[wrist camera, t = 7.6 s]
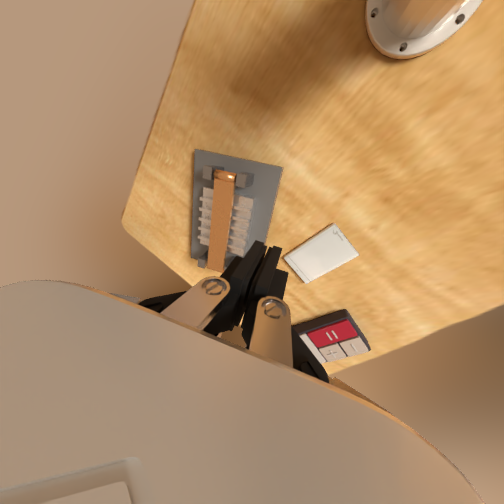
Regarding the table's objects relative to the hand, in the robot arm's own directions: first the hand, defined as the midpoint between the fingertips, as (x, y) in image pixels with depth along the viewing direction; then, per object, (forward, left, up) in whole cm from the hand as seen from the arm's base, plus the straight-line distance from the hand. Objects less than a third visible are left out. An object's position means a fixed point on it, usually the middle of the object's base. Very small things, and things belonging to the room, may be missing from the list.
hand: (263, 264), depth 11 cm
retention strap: (+7, -12, -22) cm, 26 cm away
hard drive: (+10, +8, -29) cm, 32 cm away
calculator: (+31, +18, -29) cm, 45 cm away
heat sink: (+7, -12, -26) cm, 29 cm away
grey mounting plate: (+7, -12, -28) cm, 31 cm away
